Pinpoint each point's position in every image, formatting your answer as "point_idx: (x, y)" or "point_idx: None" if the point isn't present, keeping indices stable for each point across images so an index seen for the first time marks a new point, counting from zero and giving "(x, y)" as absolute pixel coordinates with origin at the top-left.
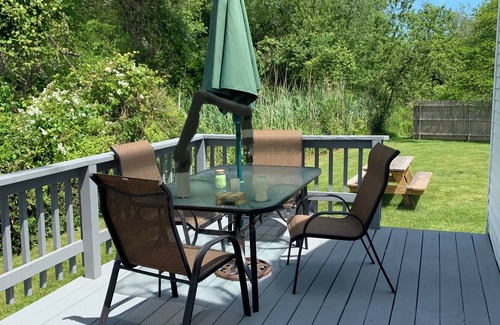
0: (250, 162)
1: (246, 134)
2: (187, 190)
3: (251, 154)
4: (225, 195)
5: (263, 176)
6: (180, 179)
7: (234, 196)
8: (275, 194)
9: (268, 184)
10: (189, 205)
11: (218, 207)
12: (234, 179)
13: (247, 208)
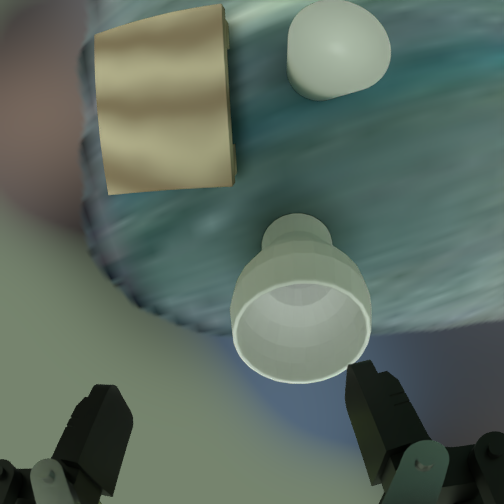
0: (350, 373)
1: None
2: None
3: (450, 496)
4: (109, 93)
5: (363, 338)
6: None
7: (104, 165)
8: (441, 271)
9: (294, 348)
10: None
11: (87, 90)
12: (316, 45)
13: (109, 240)
